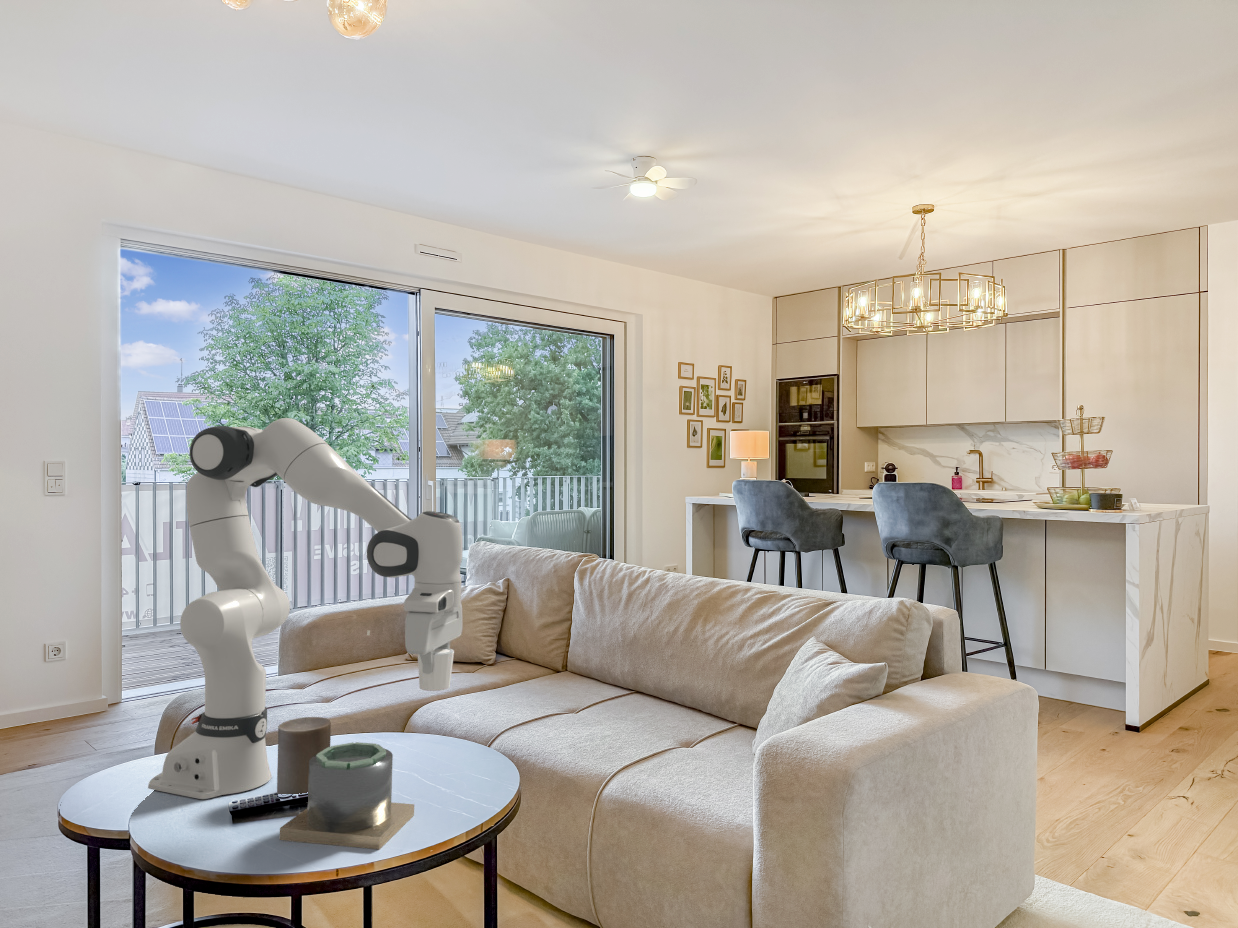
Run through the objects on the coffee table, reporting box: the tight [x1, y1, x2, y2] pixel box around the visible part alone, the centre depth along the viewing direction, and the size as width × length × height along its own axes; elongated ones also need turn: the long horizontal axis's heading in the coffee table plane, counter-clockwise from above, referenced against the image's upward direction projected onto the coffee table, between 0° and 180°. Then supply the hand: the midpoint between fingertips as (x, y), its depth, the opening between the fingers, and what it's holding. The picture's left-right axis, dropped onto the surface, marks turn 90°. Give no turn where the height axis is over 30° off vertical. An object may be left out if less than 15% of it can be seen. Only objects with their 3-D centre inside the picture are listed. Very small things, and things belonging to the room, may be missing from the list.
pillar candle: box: [276, 716, 332, 795], centre depth 154 cm, size 10×10×15 cm
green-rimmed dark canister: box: [279, 741, 415, 850], centre depth 140 cm, size 18×14×13 cm
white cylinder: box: [417, 648, 455, 692], centre depth 152 cm, size 7×7×7 cm
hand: (434, 668), depth 152 cm, fingers closed on white cylinder, 5 cm apart
